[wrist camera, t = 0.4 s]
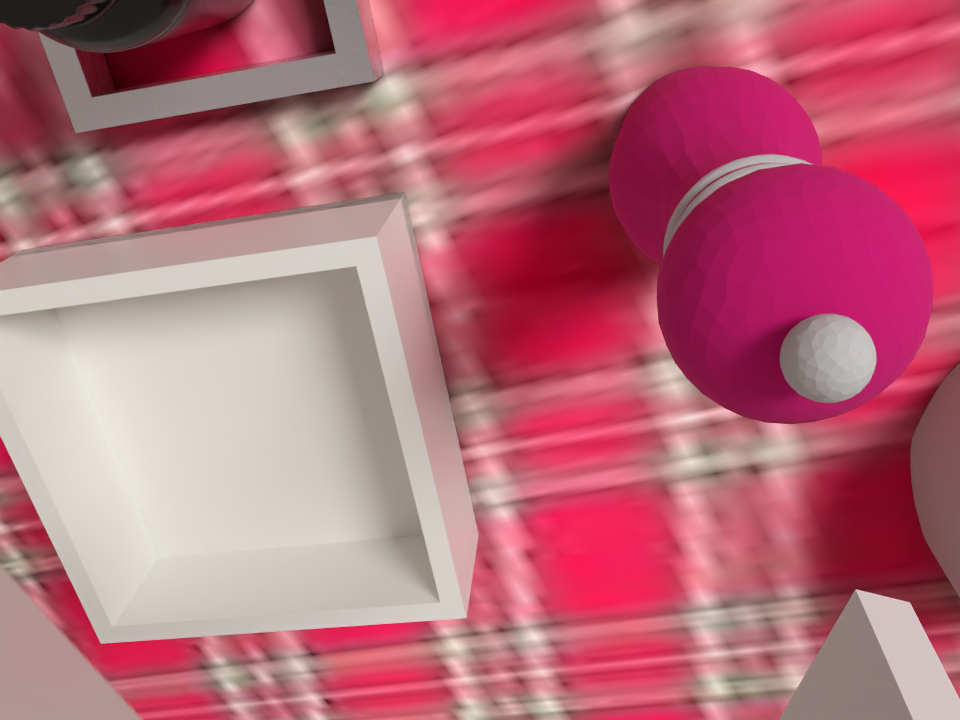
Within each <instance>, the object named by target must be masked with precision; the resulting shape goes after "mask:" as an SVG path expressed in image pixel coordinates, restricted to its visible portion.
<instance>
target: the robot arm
mask: <svg viewBox="0 0 960 720" xmlns="http://www.w3.org/2000/svg"><path fill="white" fill-rule="evenodd" d="M779 720H960V699H959V697H958V695H957V693H956V691H955V689H954V687H953V685H952V683H951V681H950V680H949V678H948V676H947V674H946V672H945V670H944V668H943V666H942V664H941V662H940V660H939V658H938V656H937V654H936V652H935V650H934V648H933V646H932V644H931V642H930V641H929V639H928V637H927V635H926V633H925V631H924V629H923V627H922V625H921V623H920V621H919V619H918V617H917V615H916V613H915V611H914V609H913V607H912V605H911V603H910V602H906V601H902V600H898V599H894V598H890V597H886V596H882V595H878V594H873V593H869V592H865V591H861V590H857V589H855V591H854V593H853V594H852V596H851V598H850V599H849V601H848V603H847V605H846V606H845V608H844V610H843V611H842V613H841V615H840V616H839V618H838V620H837V622H836V623H835V625H834V627H833V628H832V630H831V632H830V633H829V635H828V637H827V639H826V640H825V642H824V644H823V645H822V647H821V649H820V650H819V652H818V654H817V656H816V657H815V659H814V661H813V662H812V664H811V666H810V667H809V669H808V671H807V673H806V674H805V676H804V678H803V679H802V681H801V683H800V685H799V686H798V688H797V690H796V691H795V693H794V695H793V696H792V698H791V700H790V702H789V703H788V705H787V707H786V708H785V710H784V712H783V713H782V715H781V717H780V719H779Z"/></svg>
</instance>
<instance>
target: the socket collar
mask: <svg viewBox="0 0 960 720" xmlns="http://www.w3.org/2000/svg"><path fill="white" fill-rule="evenodd" d="M324 4H325V9H326V13H327V17H328V22H329V26H330V30H331V34H332V39H333V43H334V47H335V50H332V51H326V52H321V53H315V54H309V55H304V56H298V57H293V58H287V59H282V60H276V61H271V62H265V63H260V64H254V65H249V66H243V67H238V68H232V69H227V70H221V71H216V72H210V73H205V74H199V75H194V76H188V77H183V78H177V79H172V80H166V81H160V82H155V83H149V84H144V85H138V86H133V87H127V88H122V89H116V88H115V85H114V82H113V79H112V76H111V73H110V70H109V67H108V64H107V62H106V59H105V56H104V53H99V52H89V51H84V50H79V49H75V48H72V47H68V46H66V45H63V44H61V43H58V42H56V41H54V40H52V39H50V38H48V37H46V36H44V35H43V34H41V33H39V32H38V34H39V36H40V39H41V42H42V44H43V47H44V50H45V52H46V55H47V58H48V60H49V63H50V66H51V69H52V71H53V74H54V77H55V79H56V82H57V85H58V87H59V90H60V93H61V95H62V98H63V101H64V103H65V106H66V109H67V111H68V114H69V117H70V119H71V122H72V125H73V127H74V130H75V133H79V132H85V131H91V130H97V129H102V128H108V127H114V126H120V125H125V124H131V123H137V122H143V121H148V120H154V119H160V118H166V117H171V116H177V115H183V114H189V113H194V112H200V111H206V110H212V109H217V108H223V107H229V106H235V105H240V104H246V103H252V102H258V101H263V100H269V99H275V98H281V97H286V96H292V95H298V94H304V93H309V92H315V91H321V90H327V89H332V88H338V87H344V86H350V85H355V84H361V83H367V82H373V81H375V80H377V79H378V78H379V77H381V76H382V75H383V74H384V70H383V65H382V61H381V56H380V51H379V47H378V42H377V37H376V32H375V28H374V23H373V18H372V14H371V9H370V4H369V0H324Z"/></svg>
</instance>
